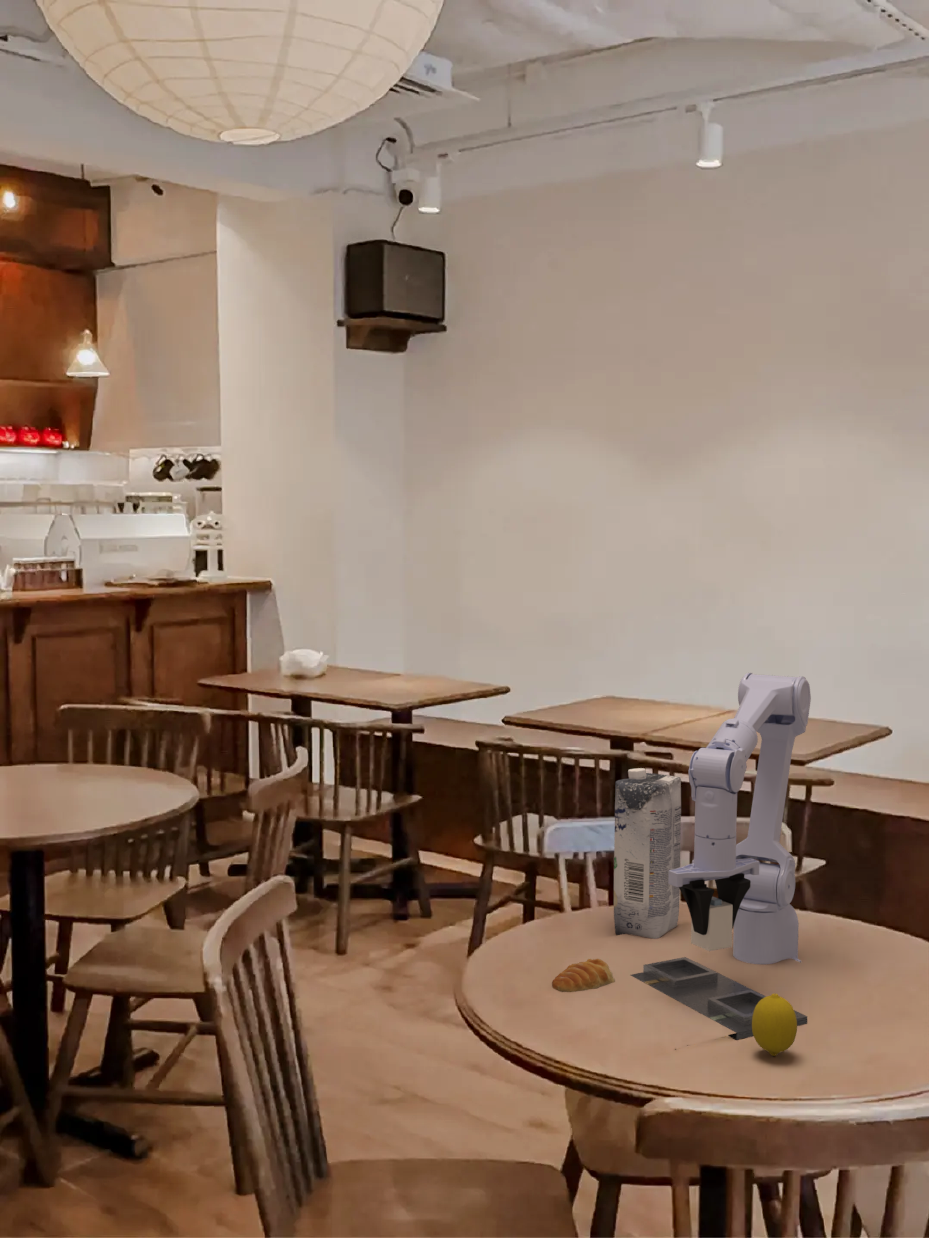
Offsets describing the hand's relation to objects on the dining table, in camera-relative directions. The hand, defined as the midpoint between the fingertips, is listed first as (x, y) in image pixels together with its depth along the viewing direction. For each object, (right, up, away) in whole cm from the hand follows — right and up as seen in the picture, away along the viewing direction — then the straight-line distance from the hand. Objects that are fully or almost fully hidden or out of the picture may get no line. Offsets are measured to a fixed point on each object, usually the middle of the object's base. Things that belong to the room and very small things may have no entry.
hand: (713, 930), depth 181 cm
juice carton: (-5, -8, +30) cm, 32 cm away
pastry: (-18, -10, +6) cm, 21 cm away
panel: (0, -10, 0) cm, 10 cm away
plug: (0, -2, 0) cm, 2 cm away
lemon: (+4, -12, -18) cm, 22 cm away
